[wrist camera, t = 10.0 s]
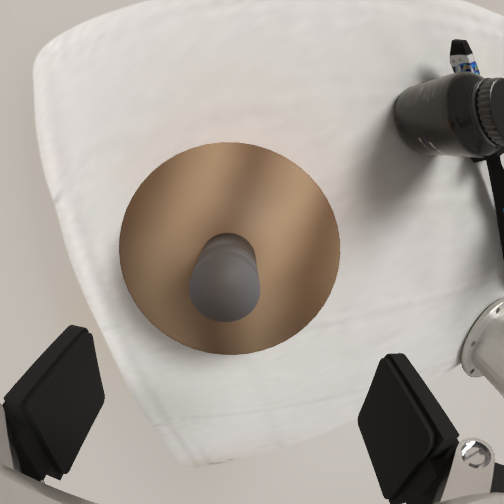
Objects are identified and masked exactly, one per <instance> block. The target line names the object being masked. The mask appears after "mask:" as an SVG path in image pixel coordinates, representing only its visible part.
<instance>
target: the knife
mask: <svg viewBox="0 0 504 504" xmlns="http://www.w3.org/2000/svg"><path fill="white" fill-rule="evenodd" d="M450 64H451V66H452V68H453V71H454V73H457V72H462V71H469V72H473V73H476V74H478V75H480V73H479V70H478V67H477V64H476V61H475V58H474V55H473V53H472V51H471V49H470V47H469V45H468V43H467V41H466V40H458V39H455V40H452V43H451V51H450ZM503 153H504V147H500V148H499V149H498V150H497V151H496V152H495V153H494V154H492V155H490V156H488V157H484V158H474V157H471V159H472V160H473V162H478V161H483V160H486V162H487V166H488V171H489V176H490V181H491V187H492V192H493V197H494V202H495V208H496V214H497V220H498V226H499V232H500V238H501V244H502V251H503V257H504V169H503V167H502V164H501V161H500V155H502V154H503Z"/></svg>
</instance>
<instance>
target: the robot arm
mask: <svg viewBox="0 0 504 504" xmlns="http://www.w3.org/2000/svg"><path fill="white" fill-rule="evenodd" d="M461 364H462V368H463V369H464V371H465V372H466V373H467V374H468V375H469V376H471V377H480V376H485V377H486V378H487V379H488V380H489V381H490V383H491V384H492V385H493V386H494V387H495V388H496V389H497V390H498V391H499V393H500V394H501V395H502V396H503V397H504V298H501V299H499V300H498V301H496V302H494V303H493V304H492V305H491V306H489V307H488V308H487V309H486V310H485V311H484V312H483V314H482V315H481V316H480V317H479V318H478V320H477V321H476V323H475V324H474V326H473V327H472V329H471V331H470V333H469V334H468V337H467V339H466V341H465V344H464V347H463V350H462V356H461ZM104 399H105V395H104V390H103V386H102V382H101V377H100V373H99V367H98V363H97V357H96V352H95V347H94V341H93V336H92V334H91V333H89V332H88V330H87V329H86V328H83V327H79V326H74V325H70V326H68V327H67V328H66V329H65V331H64V332H63V333H62V334H61V335H60V336H59V337H58V338H57V339H56V340H55V341H54V342H53V343H52V344H51V345H50V346H49V347H48V348H47V349H46V351H45V352H44V353H43V354H42V355H41V356H40V357H39V358H38V359H37V360H36V361H35V362H34V364H33V365H32V366H31V367H30V368H29V369H28V370H27V371H26V373H25V374H24V375H23V376H22V377H21V378H20V379H19V381H18V382H17V383H16V384H15V385H14V386H13V387H12V389H11V390H10V391H9V392H8V393H7V394H6V396H5V397H4V400H5V402H4V403H3V405H1V404H0V504H97V503H94V502H91V501H88V500H85V499H82V498H79V497H77V496H74V495H71V494H68V493H66V492H63V491H61V490H58V489H55V488H53V487H51V486H48V485H46V484H45V482H44V478H45V476H46V475H49V476H51V477H53V478H56V479H58V480H61V478H62V476H63V474H67V473H68V472H69V471H70V469H71V466H72V464H73V462H74V460H75V458H76V456H77V454H78V452H79V450H80V448H81V446H82V444H83V442H84V440H85V438H86V436H87V434H88V432H89V430H90V428H91V426H92V424H93V423H94V421H95V419H96V417H97V415H98V413H99V411H100V409H101V407H102V405H103V403H104ZM358 426H359V428H360V431H361V434H362V436H363V439H364V442H365V445H366V448H367V450H368V453H369V456H370V459H371V461H372V465H373V467H374V470H375V473H376V476H377V479H378V482H379V485H380V488H381V490H382V493H383V496H384V498H385V499H389V502H390V504H402V503H405V502H406V504H504V465H501V464H498V463H495V454H494V451H493V449H492V448H491V447H490V445H489V444H487V443H486V442H485V441H483V440H481V439H478V438H467V439H464V440H462V441H461V442H460V443H459V441H458V439H457V437H458V436H459V433H458V432H457V430H456V429H455V427H454V426H453V424H452V423H451V421H450V420H449V418H448V416H447V415H446V413H445V412H444V410H443V409H442V408H441V406H440V404H439V403H438V402H437V400H436V399H435V397H434V396H433V394H432V393H431V391H430V390H429V388H428V387H427V385H426V384H425V382H424V381H423V380H422V378H421V377H420V375H419V374H418V372H417V371H416V370H415V368H414V367H413V365H412V364H411V363H410V361H409V360H408V358H407V357H406V356H405V355H404V354H402V353H398V354H387V355H386V356H385V357H384V358H382V359H381V360H380V362H379V365H378V367H377V370H376V373H375V376H374V378H373V381H372V383H371V386H370V389H369V391H368V394H367V396H366V399H365V401H364V404H363V406H362V408H361V411H360V413H359V416H358Z"/></svg>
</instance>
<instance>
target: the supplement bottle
mask: <svg viewBox="0 0 504 504" xmlns="http://www.w3.org/2000/svg"><path fill="white" fill-rule="evenodd" d="M395 121H396V125H397V128H398V131H399V133H400V135H401V137H402V138H403V140H404V141H405V142H406V143H407V144H408V145H409V146H410V147H411V148H412V149H414V150H416V151H417V152H420V153H423V154H431V155H448V156H462V157H474V158H484V157H488V156H490V155H492V154H494V153H495V152H496V151H497V150H498V149H499V148H500V147H504V78H492V79H491V78H483V77H482V76H480V75H478V74H476V73H473V72H469V71H462V72H457V73H453V74H450V75H446V76H443V77H440V78H436V79H433V80H430V81H427V82H423V83H420V84H417V85H415V86H412V87H409V88H407V89H406V90H404V91H403V92H402V93H401V95H400V96H399V98H398V100H397V102H396V106H395Z"/></svg>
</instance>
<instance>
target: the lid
mask: <svg viewBox="0 0 504 504" xmlns="http://www.w3.org/2000/svg"><path fill="white" fill-rule="evenodd" d="M119 254H120V264H121V269H122V273H123V277H124V280H125V283H126V285H127V288H128V291H129V292H130V294H131V296H132V298H133V300H134V302H135V303H136V305H137V306H138V308H139V309H140V310H141V312H142V313H143V314H144V315H145V317H146V318H147V319H148V320H149V321H150V322H151V323H152V324H153V325H154V326H155V327H157V328H158V329H159V330H160V331H161V332H163V333H164V334H166V335H167V336H169V337H170V338H172V339H173V340H175V341H177V342H179V343H181V344H183V345H185V346H188V347H191V348H193V349H196V350H200V351H204V352H208V353H214V354H223V355H238V354H248V353H253V352H257V351H262V350H265V349H268V348H271V347H273V346H276V345H278V344H280V343H282V342H284V341H286V340H287V339H289V338H291V337H292V336H294V335H295V334H297V333H298V332H299V331H301V330H302V329H303V328H304V327H305V326H307V325H308V324H309V322H310V321H311V320H312V319H313V318H314V317H315V316H316V315H317V314H318V312H319V311H320V310H321V308H322V307H323V306H324V304H325V302H326V300H327V298H328V297H329V295H330V293H331V290H332V288H333V285H334V283H335V280H336V276H337V272H338V268H339V260H340V238H339V232H338V226H337V223H336V220H335V216H334V213H333V211H332V209H331V207H330V204H329V202H328V200H327V198H326V197H325V195H324V194H323V192H322V191H321V189H320V188H319V186H318V185H317V184H316V183H315V182H314V180H313V179H312V178H311V177H310V176H309V175H308V174H307V173H306V172H305V171H304V170H302V169H301V168H300V167H299V166H298V165H296V164H295V163H293V162H292V161H290V160H289V159H287V158H286V157H284V156H282V155H280V154H278V153H275V152H273V151H271V150H269V149H265V148H262V147H259V146H255V145H250V144H244V143H228V142H221V143H213V144H206V145H202V146H199V147H195V148H191V149H189V150H186V151H184V152H182V153H180V154H177V155H175V156H174V157H172V158H170V159H169V160H167V161H166V162H164V163H163V164H161V165H160V166H159V167H158V168H156V169H155V170H154V171H153V172H152V173H151V174H150V175H149V176H148V177H147V178H146V179H145V180H144V181H143V183H142V184H141V185H140V186H139V188H138V189H137V191H136V192H135V194H134V195H133V197H132V199H131V201H130V203H129V205H128V207H127V209H126V212H125V215H124V219H123V222H122V226H121V232H120V241H119Z"/></svg>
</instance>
